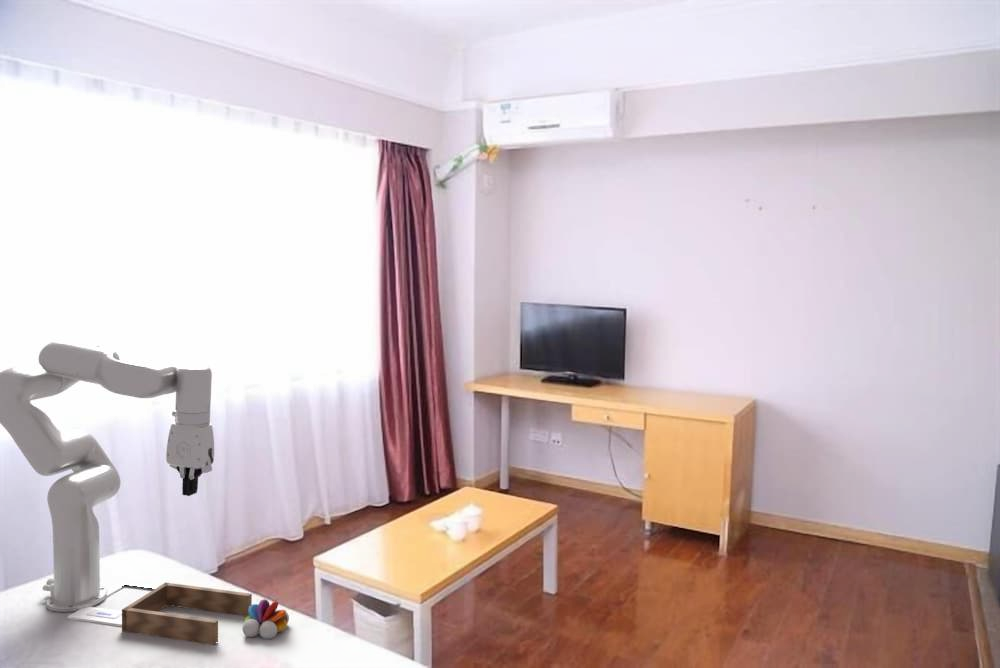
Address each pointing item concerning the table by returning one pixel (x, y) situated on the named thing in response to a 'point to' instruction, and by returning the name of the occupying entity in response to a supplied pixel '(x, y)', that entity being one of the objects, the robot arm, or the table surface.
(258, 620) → the rainbow roller toy
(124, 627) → the u-shaped wooden frame
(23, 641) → the table surface
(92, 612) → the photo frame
